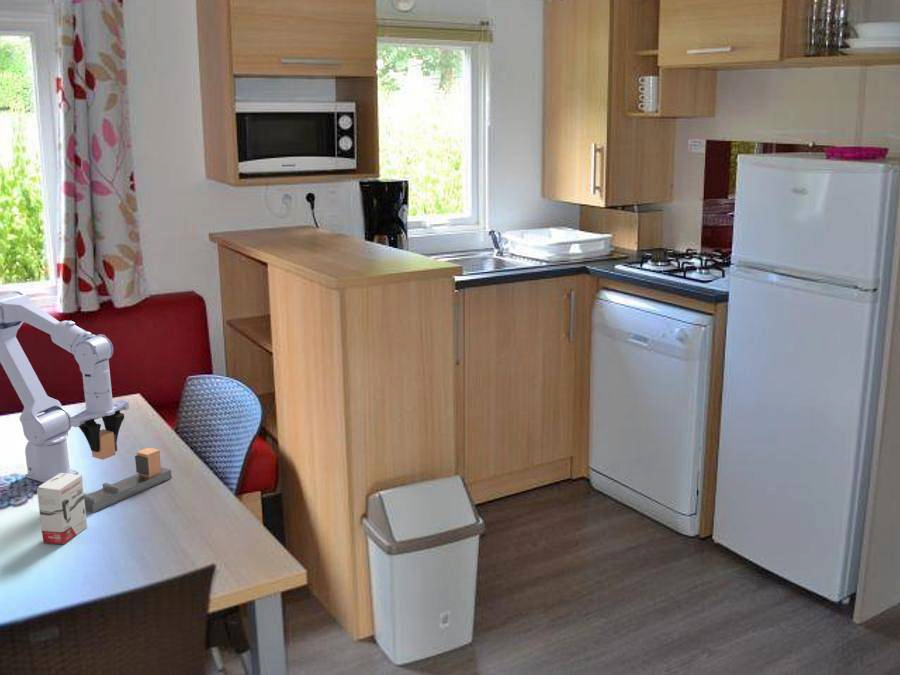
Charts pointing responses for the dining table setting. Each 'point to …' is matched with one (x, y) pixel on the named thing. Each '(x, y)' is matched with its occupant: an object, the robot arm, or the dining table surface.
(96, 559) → the dining table surface
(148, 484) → the rail
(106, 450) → the tan block with backing
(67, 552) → the dining table surface
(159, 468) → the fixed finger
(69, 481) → the ink box
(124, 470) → the dining table surface
